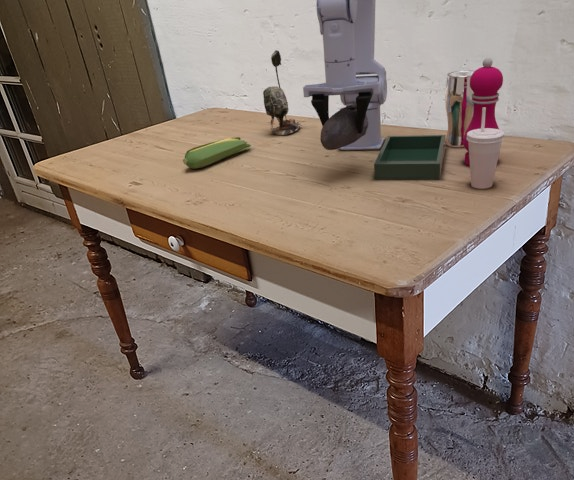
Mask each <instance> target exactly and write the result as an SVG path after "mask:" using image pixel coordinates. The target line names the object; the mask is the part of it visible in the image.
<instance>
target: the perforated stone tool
mask: <svg viewBox="0 0 574 480" xmlns="http://www.w3.org/2000/svg"><path fill="white" fill-rule="evenodd" d="M341 108H342V109H341V110H340V109H339V110H338V111H336V112H335V113H334V114H332V115H331V116H329V119H328V120H327V121H326V122H325V124H324V125H323V126H322V128H321V129H320V143H321V145H322V147H323V149H325V150H327V151H334V150H340V149H339V148H341V147H344V146H347V145H349V144H351V143H354V142H355V141H357V140H358V139H360V138H361V137H362V136H364V135H365V134H366V130H367V128H368V118H367V115H365V120H364V125H363V132H362V133H361V134H358V130H357V125H358V115H357V105H356V103H354V104H352V105H349V106H345V107H344V108H343V107H341Z"/></svg>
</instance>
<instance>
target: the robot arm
mask: <svg viewBox="0 0 574 480" xmlns="http://www.w3.org/2000/svg"><path fill="white" fill-rule="evenodd" d="M315 5H316V7H315V8H316V16H317V20H318V24H319V33H320V35H321V36H322V44H323V61H324V62H323V63H324V75H325V76H324V77H325V82H323V83H316V84H314V83H313V84H305V85H303V87H302V90H303V91H302V92H303V98H310V97H311V100H310V103H311V105H312V107H313V109H314V110H315V112H316V114H317V117H318V118H319V121H320V123H321V126H322V127H323V125H324V124H325V122H326V121H327V120H328V119H329V118H330V113H329V112H330V111H329V106H330V105H329V102H330V101H329V100H330V96H339V98H340V99H339V100H340V102H341V103H342V105H344V106H345V107H346V106H349V105H352V104H354V103H356V105H357V115H358V125H357V130H358V134H361V133H362V132H363V125H364V120H365V115H367V118H368V128H367V130H366V134H365V135H364V136H362V137H361V138H360V139H358V140H357V141H355V142H354V143H351V144H349V145H347V146H344V147H341V148H339V149H338V150H340V151H351V150H352V151H353V150H355V151H356V150H359V151H360V150H361V151H362V150H381V149H382V147H383V144H384V142H385V140H386V138H385V137H384V136H383V137H382V131H381V130H382V128H381V127H382V125H381V123H382V122H381V106H382V105H384V104H385V102H386V101H387V95H388V81H387V80H388V79H387V71H386V67H384V66H383V65H382V64H381V63H380V62H378V61H377V60H376V59H375V39H376V38H375V36H376V35H375V33H376V0H316V4H315ZM342 108H344V107H340V108H339V110H341V109H342Z"/></svg>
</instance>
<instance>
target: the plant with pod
mask: <svg viewBox="0 0 574 480" xmlns="http://www.w3.org/2000/svg"><path fill="white" fill-rule="evenodd" d="M270 60H271V64H272V66H273V67H274V68H275V74H276V80H277V85H278V86H274V85H273V86H268V87H266V88H264V90H263V92H262V95H263V105H264V109H265V113H266V115H267V116H269V117H271V119H270V131H271V133H272V134H273V135H275V136H286V135H290V134H293V133H295V132H296V131H298V130H299V128H301V127H302V126H303V125H302V124H301V123H299V121H297V122H296V119H295V118H293V117H292V118H289V119H287V115H288V113H289V111H290V110H289V104H288V103H289V102H288V100H287V96H286V94H285V92H284V89H282V87H281V84H280V79H279V73H278V67H279V66H282V57H281V53H280V51H279V50H277V49H275V50H274V51H273V52H272V54H271V57H270ZM284 117H285V119H284ZM275 118H276V120H277V122H278V125H279V126H277V127H274V122H275Z"/></svg>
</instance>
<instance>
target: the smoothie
mask: <svg viewBox="0 0 574 480" xmlns="http://www.w3.org/2000/svg"><path fill="white" fill-rule="evenodd" d="M485 113H486V107H483V108H482V122H481V129H475V130H471V131H469V132H468V133H467V138H466V139H467V141H468V146H469V160H470V166H469V173H470V184H471V185H470V186H471V187H472V188H474V189H477V190H478V189H479V190H485V189H489V188H492V186H493V185H494V181H495V175H496V171H497V165H498V161H499V157H500V152H501V147H502V142H503V141H504V139H505V131H504V130H501V129H500V128H499V129H493V128H484V127H485Z"/></svg>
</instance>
